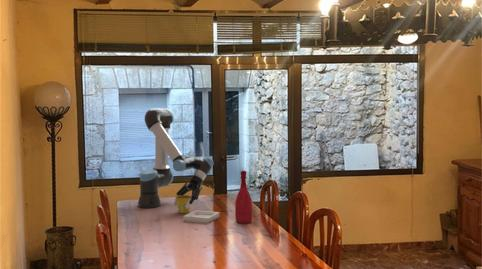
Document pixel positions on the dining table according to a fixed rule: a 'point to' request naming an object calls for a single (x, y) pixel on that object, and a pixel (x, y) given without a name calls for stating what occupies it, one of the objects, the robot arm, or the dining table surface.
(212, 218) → the white tray
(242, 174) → the wine bottle
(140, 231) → the dining table surface
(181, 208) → the plant pot
